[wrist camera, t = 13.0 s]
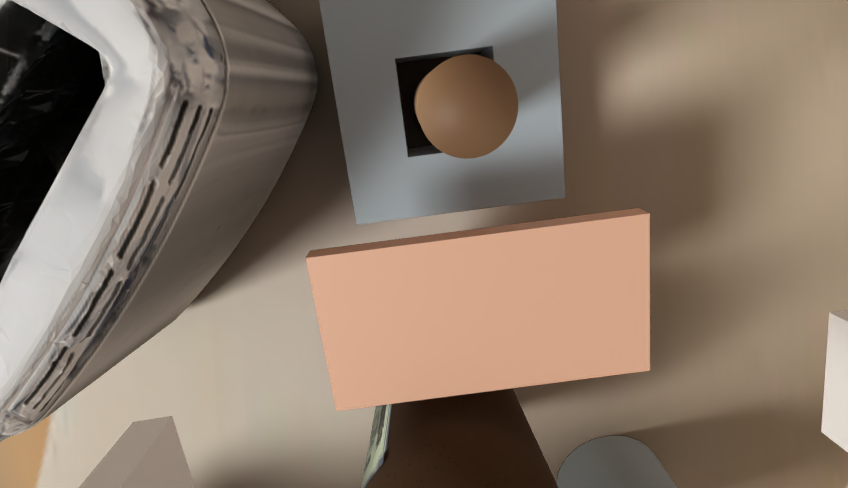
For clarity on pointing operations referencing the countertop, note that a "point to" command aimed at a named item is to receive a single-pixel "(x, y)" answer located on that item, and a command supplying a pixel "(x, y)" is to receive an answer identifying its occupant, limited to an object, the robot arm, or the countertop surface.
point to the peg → (466, 106)
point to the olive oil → (455, 444)
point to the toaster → (129, 172)
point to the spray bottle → (613, 466)
